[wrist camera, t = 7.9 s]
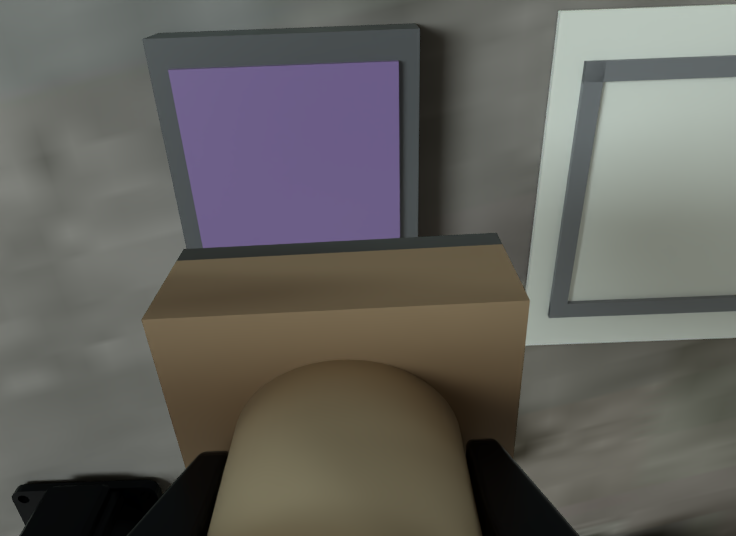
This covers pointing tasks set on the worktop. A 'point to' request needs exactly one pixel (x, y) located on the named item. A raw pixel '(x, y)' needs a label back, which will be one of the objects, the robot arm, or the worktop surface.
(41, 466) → the worktop surface
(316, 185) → the ink pad
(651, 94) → the sheet
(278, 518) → the stamp
